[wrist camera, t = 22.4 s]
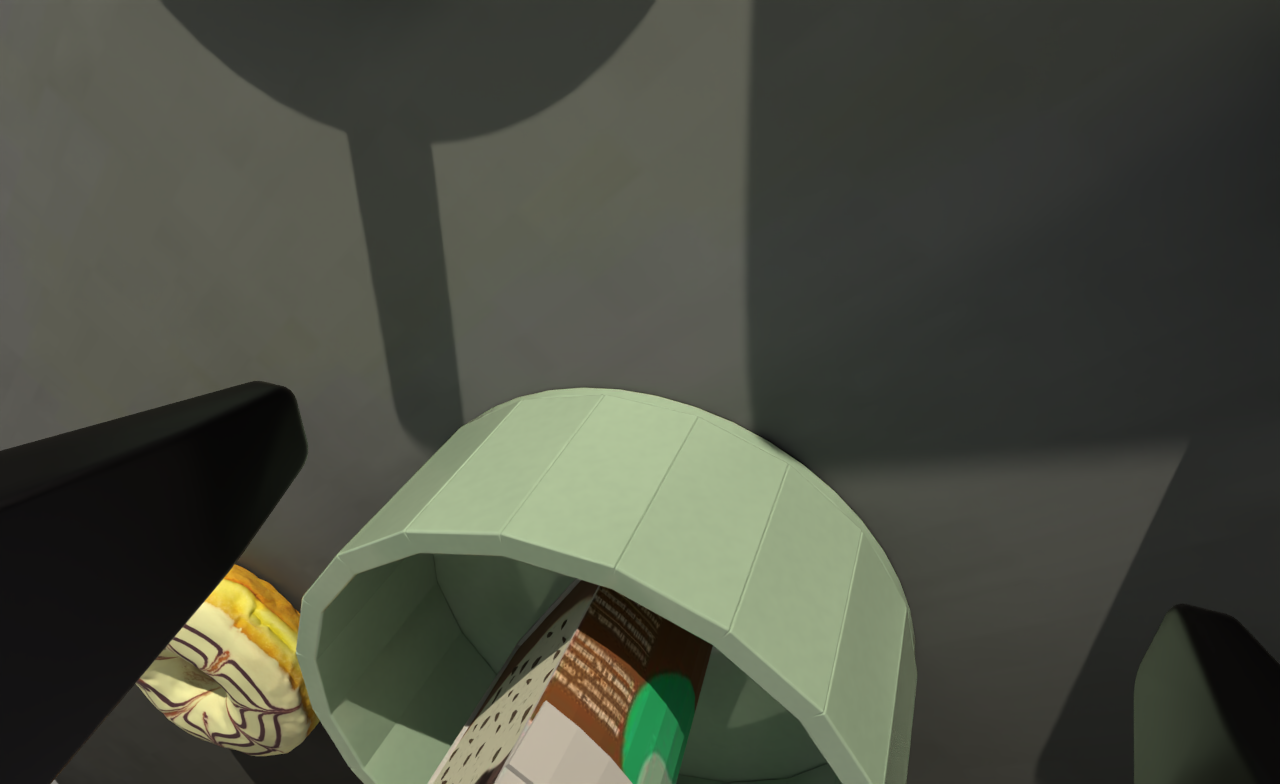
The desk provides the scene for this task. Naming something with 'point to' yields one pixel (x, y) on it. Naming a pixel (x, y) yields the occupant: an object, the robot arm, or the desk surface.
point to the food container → (585, 699)
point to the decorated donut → (236, 671)
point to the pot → (618, 590)
